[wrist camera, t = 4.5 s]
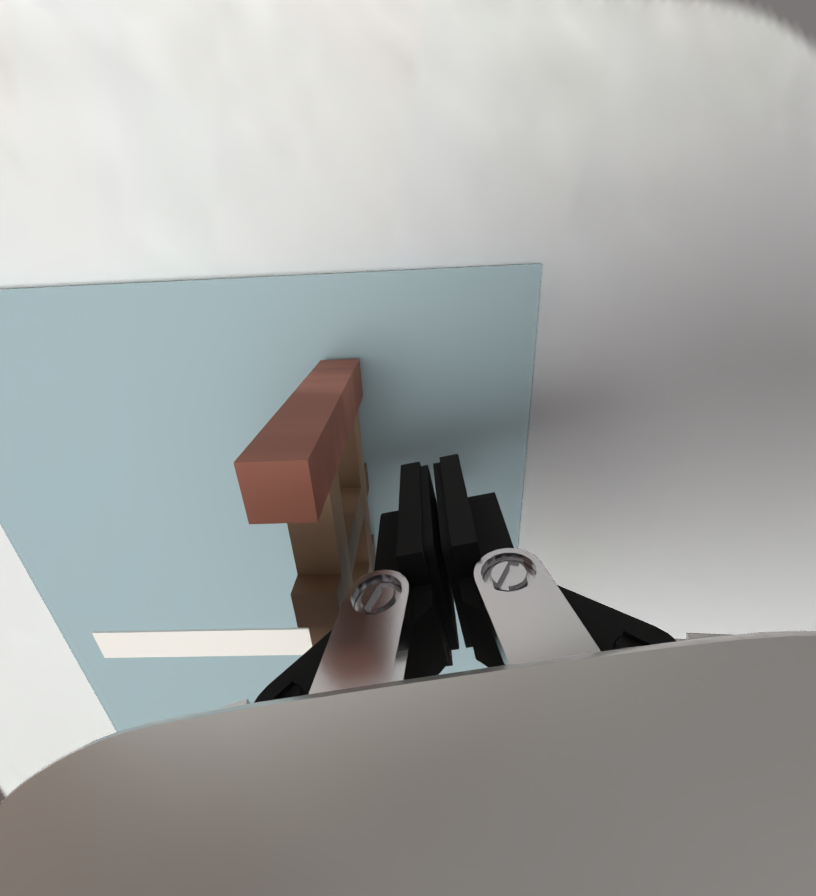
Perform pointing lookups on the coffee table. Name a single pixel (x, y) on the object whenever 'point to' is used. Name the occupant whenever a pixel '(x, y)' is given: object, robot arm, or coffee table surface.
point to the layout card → (232, 452)
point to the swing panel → (315, 489)
